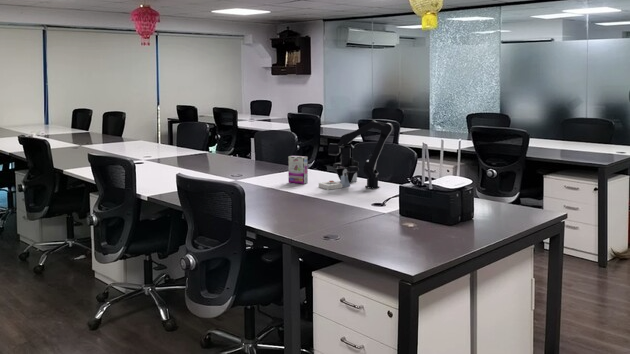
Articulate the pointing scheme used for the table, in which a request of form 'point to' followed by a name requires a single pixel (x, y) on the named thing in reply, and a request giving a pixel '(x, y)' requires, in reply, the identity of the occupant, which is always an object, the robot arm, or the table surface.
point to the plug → (345, 180)
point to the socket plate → (330, 185)
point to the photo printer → (353, 176)
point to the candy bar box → (298, 169)
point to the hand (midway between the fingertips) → (345, 181)
